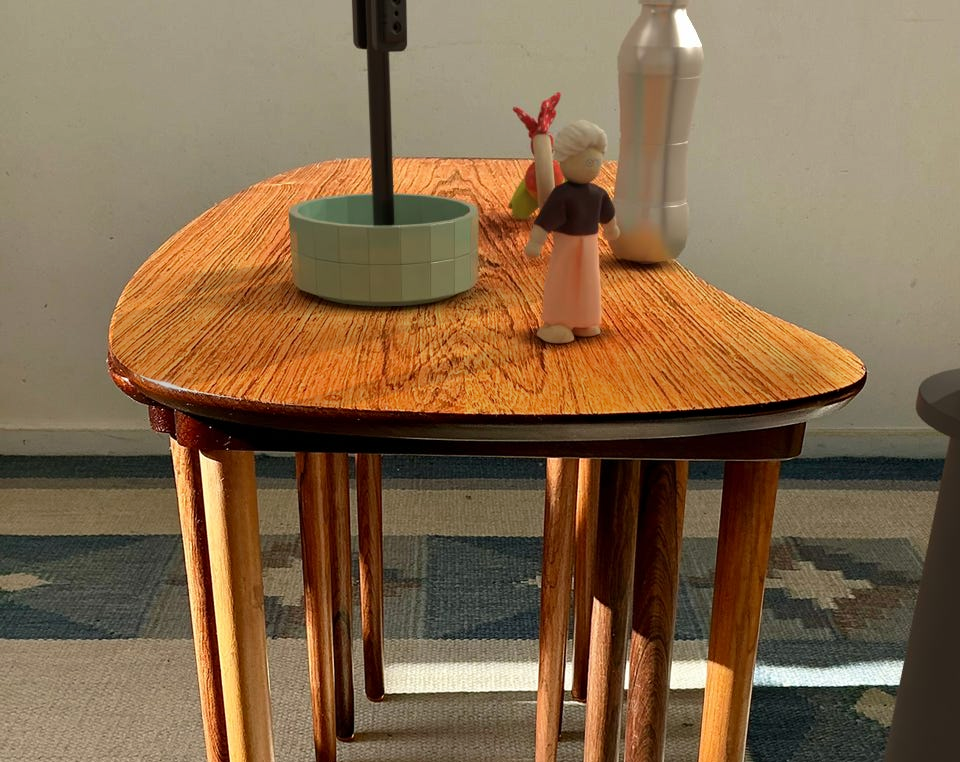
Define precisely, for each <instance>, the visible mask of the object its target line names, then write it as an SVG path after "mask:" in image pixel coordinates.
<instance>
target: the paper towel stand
mask: <svg viewBox="0 0 960 762" xmlns="http://www.w3.org/2000/svg"><path fill="white" fill-rule="evenodd" d="M365 23H366V48H367V49H366V67H367V68H366V70H367V71H366V72H367V73H366V74H367V94H368V95H367V96H368V99H367V100H368V121H369V122H368V124H369V146H370V171H371V193H372V201H373V225H395V219H394V193H395V191H394V190H395V189H394V188H395V187H394V162H393V161H394V160H393V159H394V157H393V156H394V155H393V131H392V129H393V126H392V124H393V123H392V95H391V94H392V93H391V66H390V65H391V64H390V52H380V51H376V50H375V49H374V48H373V45H372V16H371V0H365Z"/></svg>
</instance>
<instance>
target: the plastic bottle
mask: <svg viewBox="0 0 960 762" xmlns="http://www.w3.org/2000/svg"><path fill="white" fill-rule="evenodd" d="M637 4H638V5H641V10H640V14H639V16H638V17H637V18H636V20H635V21H634V22H633V24H632V26H631V27H630V28H629V30H628V31H627V33H626V35H625V37H624V38H623V40H622V42H621V43H620V47H619V50H618V53H617V55H616V56H617V58H616V62H617V64H616V68H617V72H618V74H617V85H618V99H619V100H618V101H619V133H620V138H619V150H618V151H619V152H618V159H617V166H616V167H617V168H616V175H615V182H614V189H613V198H612V199H611V201H612V203H613V205H614V208H615V217H616V225H617V227H618V228H619V231H620V234H619V237H618V238H617V239H616V240H613V241H608V240H607V244H608V247H609V248H610V250H611V252H612V255H614V256H615V257H617V258H620V259H624V260H628V261H630V262H635V263H639V264H645V265H646V264H647V265H648V264H653V263H654V264H655V263H661V262H665V261H671V260H675V259H677V258H678V257H680V255H681V254H682V252H683V251H684V249H685V248H686V244H687V241H688V236H689V233H690V232H689V231H690V209H689V202H688V199H687V197H688V155H689V153H688V152H689V146H690V140H689V139H690V135H691V132H692V124H693V123H692V122H693V115H694V109H695V105H696V101H697V96H698V92H699V86H700V82H701V77H702V76H701V73H702V72H703V66H704V60H705V56H704V51H703V44H702V42H701V40H700V37H699V36H698V34H697V31H696V29H695V27H694V25H693V24H692V22H691V20H690V19H689V16H688V15H687V14H688V13H687V6H688V5H691V4H692V0H637Z"/></svg>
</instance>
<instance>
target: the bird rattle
mask: <svg viewBox="0 0 960 762" xmlns="http://www.w3.org/2000/svg"><path fill="white" fill-rule="evenodd" d="M562 97H563V96H562V93H561V92H560V91H558V92H556V93H554V94H553V95H551V96H550V97H548V99H545V100H543V101H542V102H541V106H540V108H539V112H538V115H537V120H536V119H535V118H534V117H533V116H531V115H530V114H528V113H526V112H525V111H524V110H523V109H521V108H520V107H517V106H513V107H512V111H513V113H515V114H516V115H517V117H518V119H519V121H521V123H522V124H524V126H525V128H526V130H527V131H528V138H529V139H530V151H531V153H532V156H533V158H534V159H533V162H532V163H531V164H530V165H529V166H528V167H527V169H526V171H525V175H524V177H523V178H522V180H521V182H519V184H518V186H517V187H516V189H515V191H514V193H513V195H512V197H511V199H510V201H509V203H508V206H507V207H508V209H510V210H511V212H512V213H511V214H512V216H513V217H514V218H515V220H519V221H525V220H527V219H528V218H530V216H531V215H532V214H534V213H535V212H536V211H537V210H538V211H539V212H540V211H541V209H542V207H543V206H544V204H545V202H546V200H547V199H548V197H549V195H550V194H551V192H552V191H553V189H554V188H555V186H558V185H560V184H562V183H564V182H566V181H567V179H566V178H565V177H564V176H563V174H562V172H561V169H560V164H559V162H557V161H556V160H555V159H553V154H554V152H555V151H554V150H553V143H554V141H555V140H554V136H553V134H552V133H551V132H550V131H549V128H550V127H551V125H552V124H553V122H554V120H555V118H556V115H557V110H556V109H555V108H556V107H557V105H558V104H559V102H560V101H561V98H562ZM539 212H538V213H539Z"/></svg>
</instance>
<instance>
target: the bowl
mask: <svg viewBox="0 0 960 762" xmlns="http://www.w3.org/2000/svg"><path fill="white" fill-rule="evenodd" d="M394 219H395V225H373V201H372V192H367V193H349V194H347V193H346V194H337V195H329V196H320V197H316V198H312V199H308V200H303V201H300V202H298V203H295V204H294V205H291V206H290V208H289V210H288V226H289V240H290V241H289V242H290V254H291V255H290V257H291V272H292V283H293V284H294V286H295V287H297V288H298V289H299V290H300V291H302V292H306V293H309V294H312V295H315V296H316V297H319V298H321V299H324V300H326V301H330V302H334V303H339V304H345V305H352V306H363V307H366V306H367V307H405V306H416V305H423V304H424V305H425V304H430V303H431V304H432V303H436V302H439V301H443V300H447V299H449V298H452V297H453V296H456V295H457V294H460V293H463V292H466V291H468V290H471V289H472V288H473V287H474V286H476V284H478V282H479V238H480V237H479V236H480V235H479V231H480V228H479V227H480V223H479V221H480V212H479V209H478V206H476V205H475V204H473V203H470V202H468V201H466V200H463V199H462V200H461V199H457V198H453V197H448V196H439V195H432V194H424V193H423V194H422V193H421V194H420V193H405V192H404V193H403V192H398V193H397V192H394Z"/></svg>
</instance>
